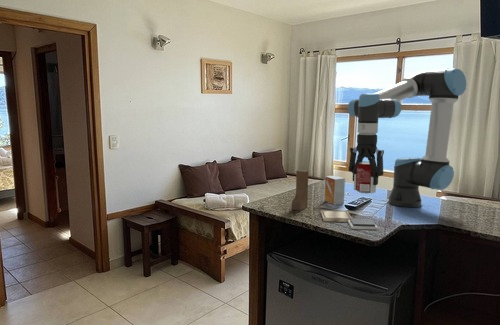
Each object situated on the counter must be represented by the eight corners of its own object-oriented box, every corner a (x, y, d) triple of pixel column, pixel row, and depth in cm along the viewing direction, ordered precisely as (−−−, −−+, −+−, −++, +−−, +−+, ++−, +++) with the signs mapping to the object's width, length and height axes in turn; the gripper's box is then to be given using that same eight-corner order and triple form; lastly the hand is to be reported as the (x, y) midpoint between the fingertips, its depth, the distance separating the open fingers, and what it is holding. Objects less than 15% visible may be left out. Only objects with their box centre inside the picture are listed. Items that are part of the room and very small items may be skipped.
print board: (347, 213, 162) (347, 210, 161) (352, 222, 150) (352, 218, 150) (320, 212, 163) (320, 209, 162) (323, 221, 151) (323, 218, 150)
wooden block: (300, 211, 165) (301, 173, 162) (291, 209, 167) (292, 172, 164) (307, 206, 172) (308, 170, 169) (299, 205, 175) (300, 169, 172)
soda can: (370, 194, 138) (372, 164, 136) (353, 192, 142) (354, 163, 140) (375, 191, 144) (376, 161, 142) (358, 189, 148) (359, 160, 146)
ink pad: (372, 222, 149) (372, 218, 148) (377, 229, 141) (377, 225, 141) (347, 222, 149) (348, 218, 149) (351, 228, 142) (352, 224, 141)
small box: (324, 201, 182) (325, 176, 180) (334, 199, 185) (335, 175, 183) (333, 205, 175) (334, 179, 173) (344, 203, 178) (345, 178, 175)
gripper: (340, 132, 144) (338, 188, 148) (385, 136, 129) (382, 197, 133) (351, 131, 149) (348, 185, 153) (396, 134, 134) (392, 194, 138)
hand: (364, 190), depth 143 cm, fingers closed on soda can, 7 cm apart
